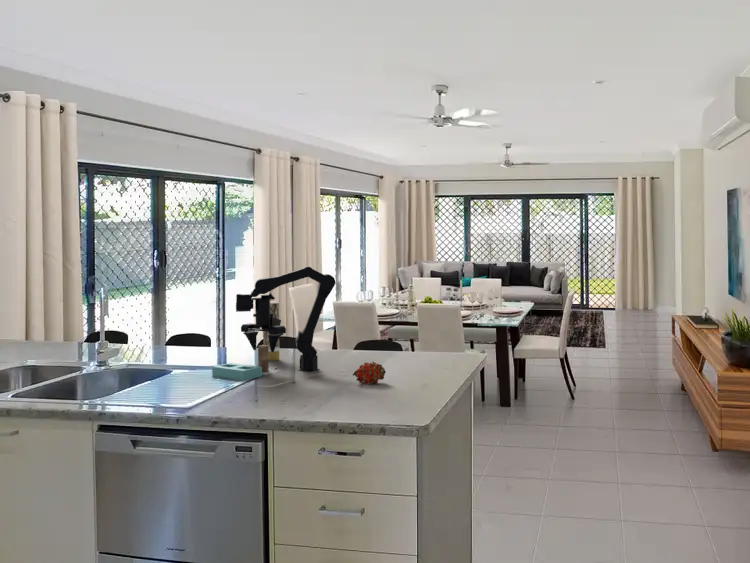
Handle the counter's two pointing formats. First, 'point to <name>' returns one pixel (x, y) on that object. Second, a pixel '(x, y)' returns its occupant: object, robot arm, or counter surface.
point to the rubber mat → (270, 371)
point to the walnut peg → (263, 357)
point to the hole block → (237, 371)
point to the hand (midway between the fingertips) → (263, 351)
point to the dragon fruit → (370, 373)
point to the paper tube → (272, 355)
